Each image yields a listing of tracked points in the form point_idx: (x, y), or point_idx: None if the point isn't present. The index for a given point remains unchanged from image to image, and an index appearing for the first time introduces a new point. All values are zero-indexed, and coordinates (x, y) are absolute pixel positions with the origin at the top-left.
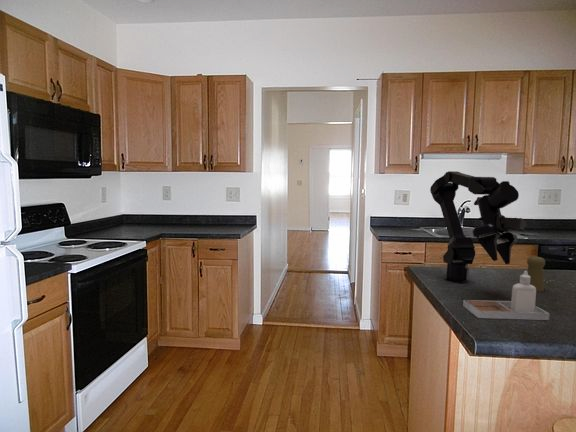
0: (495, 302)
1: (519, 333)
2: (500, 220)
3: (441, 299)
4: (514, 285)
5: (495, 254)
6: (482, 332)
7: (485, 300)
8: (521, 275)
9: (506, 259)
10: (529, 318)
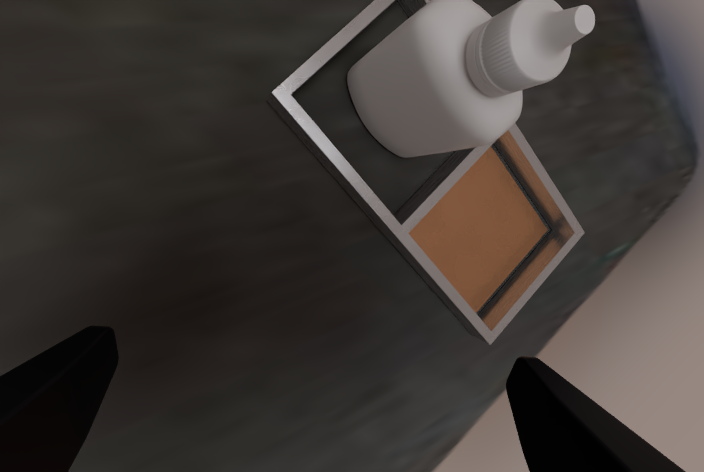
0: (407, 233)
1: (605, 72)
2: None
3: (452, 436)
4: (505, 129)
5: (599, 412)
6: (655, 171)
7: (431, 275)
8: (558, 69)
9: (78, 399)
10: None
